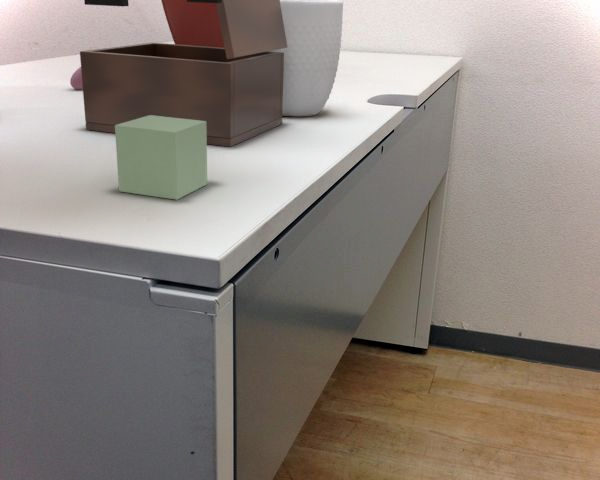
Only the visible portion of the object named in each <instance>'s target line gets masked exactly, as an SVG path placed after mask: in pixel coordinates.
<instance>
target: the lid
mask: <svg viewBox="0 0 600 480" xmlns="http://www.w3.org/2000/svg"><path fill="white" fill-rule="evenodd" d="M216 6H217V11H218V17H219V22H220V27H221V32H222V37H223V42H224V47H225V52H226V57H227V59H231V58H237V57H242V56H247V55H252V54H257V53H262V52H267V51H272V50H278V49H283V48H287V41H286V35H285V29H284V23H283V17H282V11H281V6H280V0H222V3H216Z"/></svg>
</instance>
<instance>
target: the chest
mask: <svg viewBox="0 0 600 480" xmlns="http://www.w3.org/2000/svg"><path fill="white" fill-rule="evenodd" d="M79 58H80V67H81V72H82V85H83V89H82V95H83V107H84V118H85V119H84V120H85V130H87V131H95V132H102V133H110V134H112V133H113V134H115V125H117V124H121V123H124V122H128V121H131V120H135V119H138V118H142V117H145V116H149V115H154V116H163V117H172V118H182V119H191V120H200V121H206V131H207V145H212V146H220V147H229V148H230V147H233V146H235V145H238V144H240V143H242V142H245V141H247V140H249V139H251V138H253V137H256V136H258V135H260V134H262V133H264V132H267V131H269V130H271V129H274V128H276V127H278V126H280V125H283V116H282V110H283V74H284V52H271V51H267V52H262V53H257V54H252V55H247V56H242V57H237V58H231V59H227V57H226V52H225V48H218V47H205V46H191V45H178V44H175V43H163V42H145V43H136V44H128V45H121V46H120V45H119V46H112V47H102V48H96V49H87V50H81V51H79Z"/></svg>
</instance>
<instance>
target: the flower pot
mask: <svg viewBox="0 0 600 480" xmlns="http://www.w3.org/2000/svg"><path fill="white" fill-rule="evenodd" d="M161 5H162V8H163V12H164V15H165V19H166V23H167V25H168V28H169V32H170V35H171V38H172V41H173V44H178V45H191V46H205V47H218V48H225V47H224V42H223V37H222V32H221V27H220V22H219V17H218V11H217V6H216V3H200V2H187V0H161Z"/></svg>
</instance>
